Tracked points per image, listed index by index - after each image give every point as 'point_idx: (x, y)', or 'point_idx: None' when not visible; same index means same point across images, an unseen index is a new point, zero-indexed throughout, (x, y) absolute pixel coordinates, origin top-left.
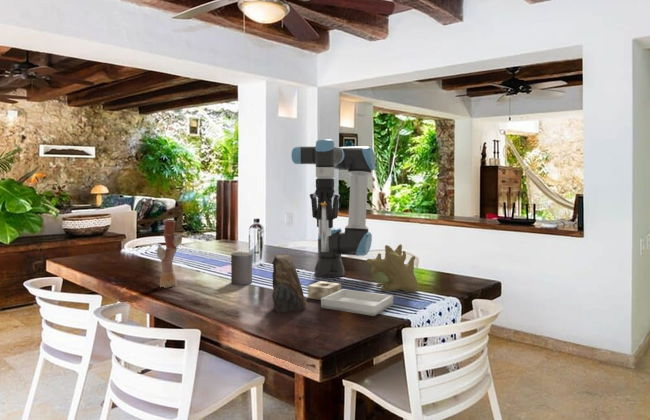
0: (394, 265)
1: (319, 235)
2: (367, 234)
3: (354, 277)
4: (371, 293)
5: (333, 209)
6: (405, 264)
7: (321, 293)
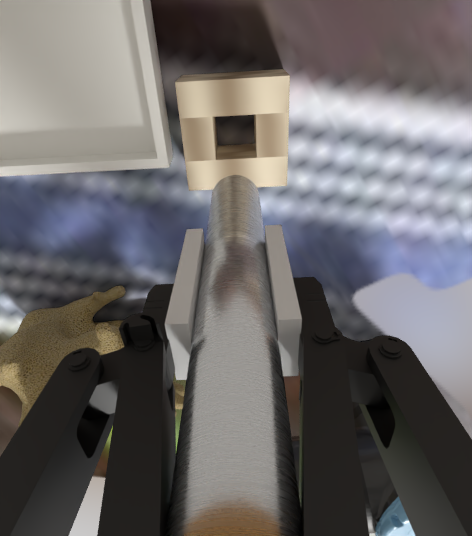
0: (19, 336)
1: (271, 225)
2: None
3: None
4: (39, 164)
5: (25, 471)
6: None
7: (217, 76)
